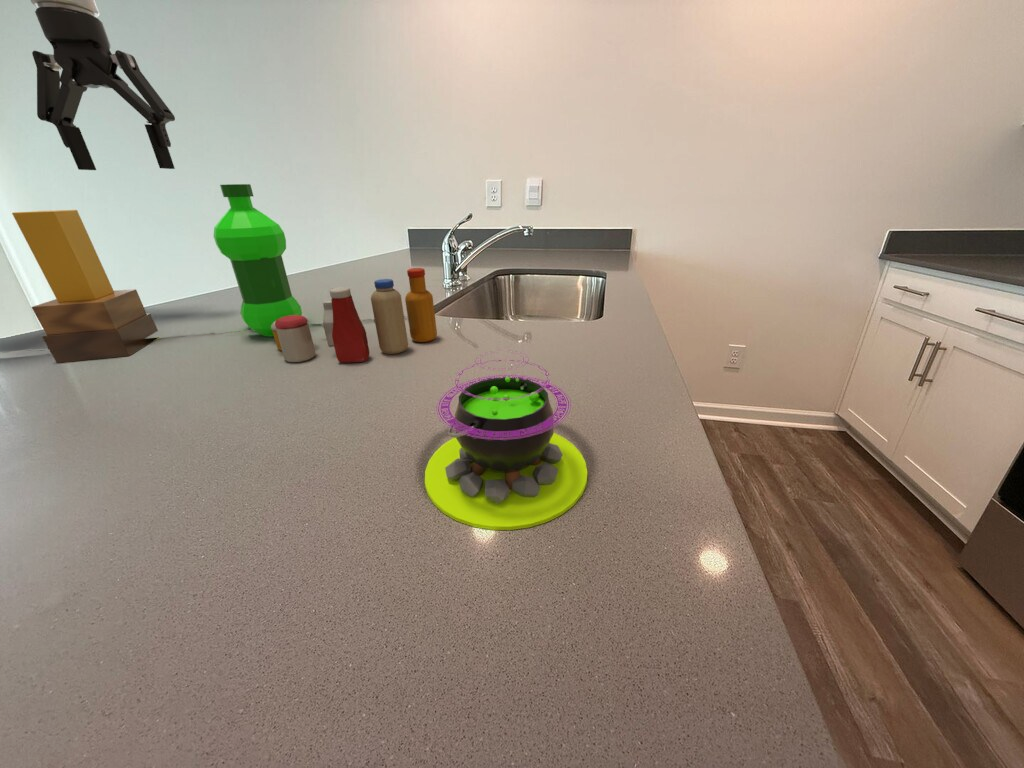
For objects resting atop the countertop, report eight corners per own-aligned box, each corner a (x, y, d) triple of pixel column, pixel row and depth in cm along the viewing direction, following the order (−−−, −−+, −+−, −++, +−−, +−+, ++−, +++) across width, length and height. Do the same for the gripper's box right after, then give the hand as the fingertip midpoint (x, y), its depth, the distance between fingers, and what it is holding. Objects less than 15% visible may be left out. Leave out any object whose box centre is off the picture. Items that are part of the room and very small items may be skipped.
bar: (57, 302, 64) (11, 212, 58) (79, 295, 68) (38, 211, 62) (95, 299, 65) (53, 211, 59) (114, 292, 69) (77, 209, 63)
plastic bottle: (252, 345, 70) (200, 184, 59) (242, 331, 78) (195, 185, 67) (313, 332, 76) (276, 183, 65) (298, 320, 83) (263, 184, 72)
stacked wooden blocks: (56, 363, 65) (25, 307, 61) (97, 342, 74) (72, 293, 70) (129, 356, 67) (104, 302, 63) (160, 336, 76) (140, 288, 72)
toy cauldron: (484, 414, 47) (478, 322, 42) (610, 449, 40) (620, 345, 35) (388, 490, 36) (365, 376, 31) (542, 559, 29) (543, 426, 24)
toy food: (439, 333, 73) (432, 265, 68) (428, 361, 62) (418, 281, 57) (290, 338, 73) (271, 270, 68) (252, 366, 62) (225, 287, 56)
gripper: (-46, 3, 59) (32, 169, 68) (133, 3, 60) (186, 167, 69) (9, 22, 65) (73, 171, 75) (169, 22, 66) (213, 168, 76)
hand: (127, 169), depth 72 cm, fingers open, 13 cm apart
